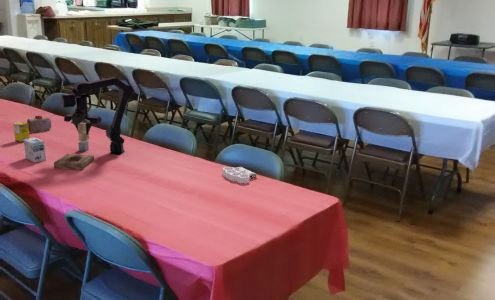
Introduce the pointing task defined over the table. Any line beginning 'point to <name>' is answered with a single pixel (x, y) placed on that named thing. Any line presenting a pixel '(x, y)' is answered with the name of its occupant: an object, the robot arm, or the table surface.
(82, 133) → the maple pin
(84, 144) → the metal stub
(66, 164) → the walnut sleeve block
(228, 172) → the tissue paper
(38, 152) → the light bulb box
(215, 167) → the table surface
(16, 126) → the supplement box
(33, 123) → the grey box with knob
